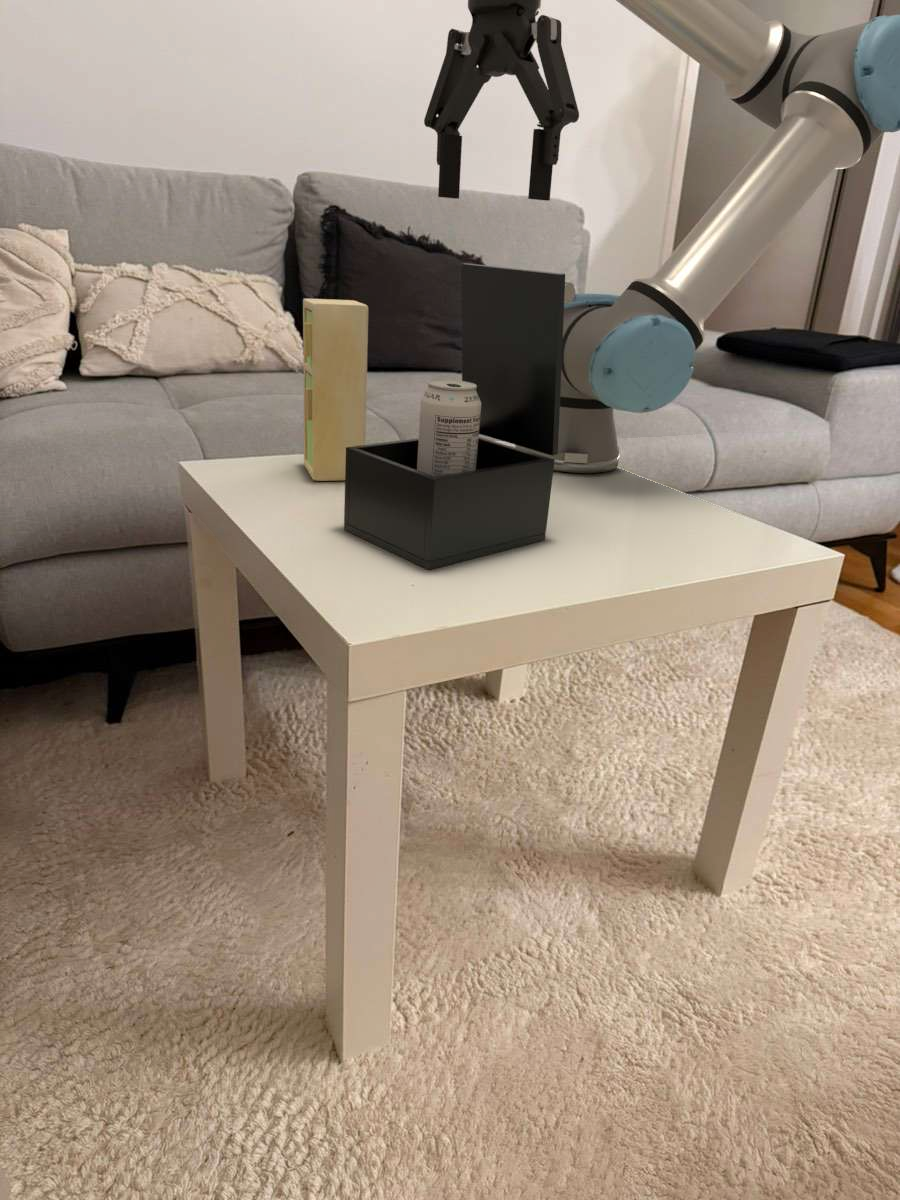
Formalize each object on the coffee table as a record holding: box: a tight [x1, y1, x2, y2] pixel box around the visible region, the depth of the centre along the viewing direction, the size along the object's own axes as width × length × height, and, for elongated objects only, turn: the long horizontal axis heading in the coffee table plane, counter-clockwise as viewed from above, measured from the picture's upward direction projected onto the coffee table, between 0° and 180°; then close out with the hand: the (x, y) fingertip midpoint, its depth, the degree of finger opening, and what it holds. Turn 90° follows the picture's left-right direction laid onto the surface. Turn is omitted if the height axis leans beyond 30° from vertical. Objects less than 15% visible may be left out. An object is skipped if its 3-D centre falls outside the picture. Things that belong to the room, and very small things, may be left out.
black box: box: [343, 436, 555, 571], centre depth 88 cm, size 17×14×9 cm
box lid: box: [460, 262, 576, 456], centre depth 89 cm, size 18×14×6 cm
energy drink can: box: [417, 379, 481, 477], centre depth 86 cm, size 6×6×15 cm
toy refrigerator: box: [302, 298, 369, 482], centre depth 105 cm, size 8×7×21 cm
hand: (491, 199), depth 95 cm, fingers open, 13 cm apart
